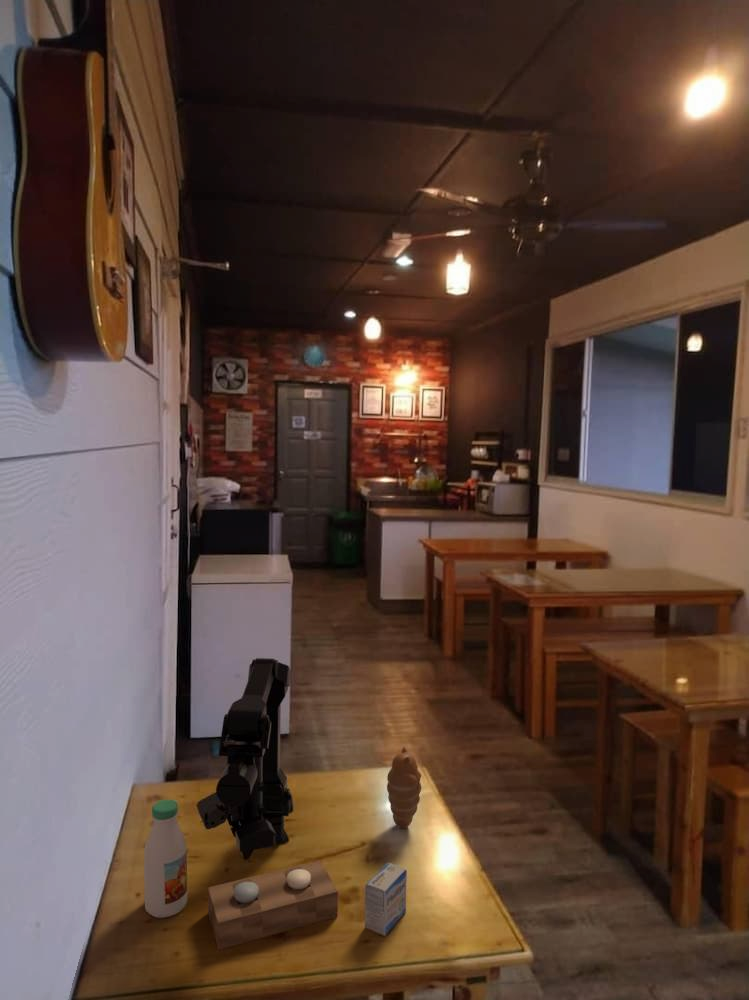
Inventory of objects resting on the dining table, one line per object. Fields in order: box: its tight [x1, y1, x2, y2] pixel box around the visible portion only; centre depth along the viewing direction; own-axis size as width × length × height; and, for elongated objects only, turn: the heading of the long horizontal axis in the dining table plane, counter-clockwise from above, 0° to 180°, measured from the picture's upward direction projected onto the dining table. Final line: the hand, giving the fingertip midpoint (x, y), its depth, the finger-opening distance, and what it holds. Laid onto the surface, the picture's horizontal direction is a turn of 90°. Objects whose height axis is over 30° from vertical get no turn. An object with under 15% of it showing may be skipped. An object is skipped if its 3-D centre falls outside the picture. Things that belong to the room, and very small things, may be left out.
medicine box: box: [364, 862, 408, 937], centre depth 128 cm, size 8×4×9 cm, turn 148°
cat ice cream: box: [386, 746, 422, 829], centre depth 157 cm, size 9×8×18 cm
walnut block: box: [207, 860, 339, 951], centre depth 129 cm, size 10×22×5 cm, turn 113°
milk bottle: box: [143, 799, 188, 919], centre depth 130 cm, size 8×8×20 cm
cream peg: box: [287, 869, 311, 891], centre depth 130 cm, size 4×4×6 cm
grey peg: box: [234, 882, 258, 905], centre depth 126 cm, size 4×4×6 cm
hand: (246, 858), depth 125 cm, fingers closed
